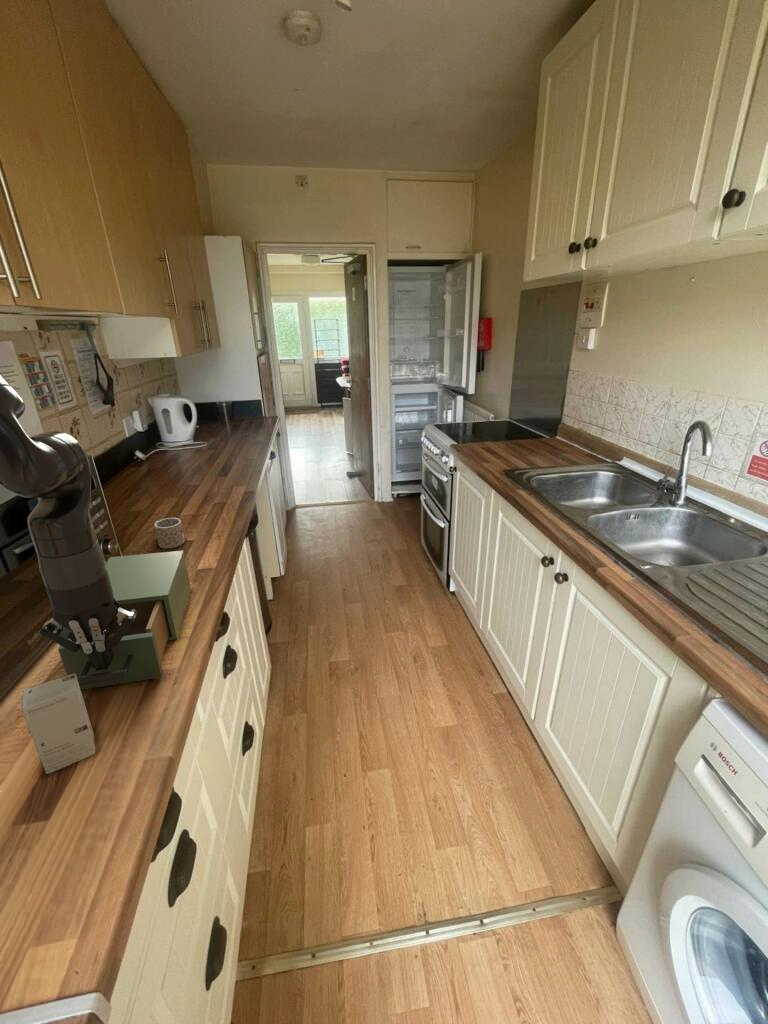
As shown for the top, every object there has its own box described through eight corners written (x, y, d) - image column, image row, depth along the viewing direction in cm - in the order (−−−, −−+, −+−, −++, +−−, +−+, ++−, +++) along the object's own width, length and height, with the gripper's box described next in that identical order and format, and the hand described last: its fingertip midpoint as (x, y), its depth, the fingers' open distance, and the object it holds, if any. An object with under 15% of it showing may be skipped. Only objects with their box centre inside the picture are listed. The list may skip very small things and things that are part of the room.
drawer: (155, 699, 70) (144, 656, 67) (60, 714, 67) (43, 671, 63) (178, 619, 89) (171, 582, 86) (105, 628, 86) (94, 591, 82)
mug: (189, 542, 122) (185, 521, 119) (167, 551, 117) (163, 530, 114) (169, 533, 127) (165, 513, 124) (147, 542, 122) (142, 520, 119)
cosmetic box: (46, 777, 59) (18, 713, 54) (46, 752, 62) (19, 690, 57) (98, 753, 62) (76, 691, 57) (96, 731, 65) (75, 671, 61)
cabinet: (177, 640, 85) (167, 594, 80) (93, 652, 81) (78, 605, 77) (191, 590, 100) (183, 550, 96) (121, 598, 97) (110, 557, 93)
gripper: (134, 556, 66) (154, 644, 73) (35, 564, 63) (65, 656, 70) (119, 582, 60) (143, 676, 67) (8, 593, 56) (45, 691, 63)
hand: (103, 666), depth 68 cm, fingers closed
